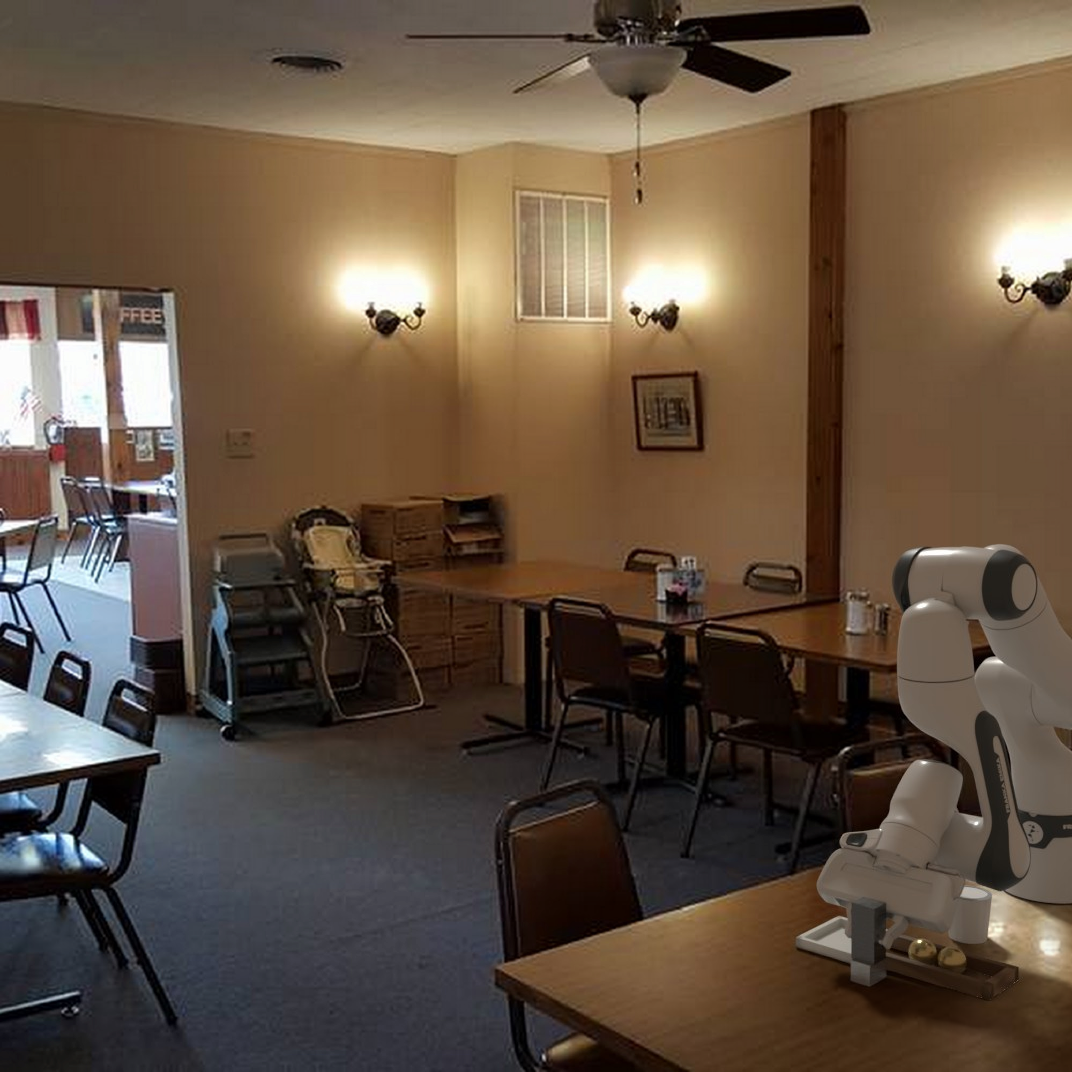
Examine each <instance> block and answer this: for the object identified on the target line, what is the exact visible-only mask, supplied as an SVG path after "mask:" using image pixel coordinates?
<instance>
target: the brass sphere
mask: <svg viewBox="0 0 1072 1072" xmlns="http://www.w3.org/2000/svg"><path fill="white" fill-rule="evenodd" d="M945 947H946V948H944V949H942V950H941V951H940V953H939V955H938V958H937V961H936V962H937V965H938V966H937V967H938V968H942V969H945V970H948V971H952V972H955V973H959V974H962V975H963V973H965V971H966V966H967V960H966V957H965V955H964V953H963V952H964V951H963V950H961V949H959V948H957V947H955V946H945ZM962 951H963V952H962Z"/></svg>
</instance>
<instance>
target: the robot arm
mask: <svg viewBox="0 0 1072 1072" xmlns="http://www.w3.org/2000/svg"><path fill="white" fill-rule="evenodd" d="M891 587H892V591H893V595H894V597H895V600H896V602H897V604H898V606H899V608H900V610H901V612H902V616H901V619H900V624H899V630H898V638H897V639H898V640H897V652H896V659H897V660H896V673H897V676H896V677H897V681H896V682H897V693H898V700H899V704H900V707H901V710H902V712H903V714H904V715H905V716H906V718H907V719H908V720H909V721H910V722H911V723H912V725H913V726H915V727H916V728H917V729H918V730H920V731H922V732H923V733H924V734H927V735H928V736H930V737H932V738H935V739H936V740H938V741H940V742H942V743H943V744H945V745H947V746H948V747H950V748H951V749H952V750H954V751H955V752H957V753H958V754H959V755H960V756H961V757H962V758H963V759H965V760H966V762H967V763H968V764H969V766H970V768H971V770H972V773H973V777H974V781H975V782H974V783H975V787H976V791H977V796H978V802H979V807H980V811H981V815H982V816H977V815H971V814H966V813H961V812H959V810H958V808H957V806H958V803H959V802H958V801H959V798H960V794H961V791H962V787H963V782H964V781H963V779H964V777H963V774H962V773H961V772H960V771H959V770H958V769H957V768H956V767H954V766H952V765H950V764H947V763H945V762H942V761H938V760H934V759H928V758H927V759H926V758H920V759H916V760H914V761H913V762H912V763H911V764H910V766H908V768H907V770H906V771H905V772H904V774H903V776H902V778H901V780H900V781H899V783H898V785H897V787H896V788H895V791H894V793H893V795H892V798H891V800H890V804H889V812H888V814H887V816H886V817H885V818H884V819H883V821H882V822H881V824H880V825H879V828H876V829H875V828H874V829H870V830H864V831H853V832H852V831H851V832H845V833H843V834H842V836H841V837H840V839H839V845H840V847H841V848H838V849H836V850H835V851H834V852H833V853H831V855H830V856H829V857H828V859H827V860H826V863H825V865H824V866H823V868H822V870H821V872H820V874H819V876H818V879H817V882H816V889H817V892H818V894H819V896H820V897H821V898H822V900H823V901H825V903H828V904H831V905H835V906H838V907H842V908H845V911H846V918H847V919H848V924H847V927H846V929H845V935H846V936H847V937H848V938H851V907H852V902H854V901H856V900H858V899H860V898H862V897H866V898H870V899H874V900H877V901H881V902H885V903H886V920H890V921H892V923H893V924H892V925H891V926H890V927H889V928H887V929H888V930H887V931H886V932H884V931H880V932H879V937H877V940H876V943H877V944H878V946H879V947H883V948H885V949H886V950H890V949H892V948H891V945H892V943H893V941H894V939H896V938H897V937H899V936H900V935H901V934H902V935H904V933H905V932H906V931H907V929H908V927H909V926H912V927H916V928H920V929H924V930H927V931H931V932H935V933H939V934H945V933H946V932H947V931H948V930H949V929H950V928H951V926H952V923H953V920H954V916H955V912H956V907H957V902H958V898H959V897H960V896H961V894H962V892H963V889H964V886H965V885H966V882H970V883H975V884H977V885H979V886H982V887H985V888H988V889H990V890H993V891H997V892H1004V891H1005V892H1007V893H1009V894H1010V895H1013V896H1016V897H1018V898H1022V899H1025V900H1029V901H1033V902H1034V901H1035V902H1041V903H1048V904H1050V903H1051V904H1072V750H1071V749H1070V748H1068V747H1067V746H1066V745H1065V744H1064V743H1062V741H1061V740H1060V738H1059V737H1058V735H1057V733H1056V730H1055V728H1059V729H1060V728H1061V729H1064V730H1065V729H1066V730H1070V731H1071V730H1072V639H1071V637H1070V636H1069V635H1068V634H1067V632H1066V631H1065V630H1064V629H1063V627H1062V625H1061V623H1060V622H1059V620H1058V617H1057V616H1056V615H1057V614H1055V613H1056V612H1055V611H1054V609H1053V607H1052V605H1051V602H1050V600H1049V598H1048V595H1047V592H1046V590H1045V589H1044V586H1043V584H1042V582H1041V580H1040V578H1039V577H1038V574H1037V572H1036V569H1035V567H1034V566H1033V565H1032V563H1031V562H1030V560H1029V559H1028V558H1027V557H1026V556H1025V555H1024V554H1023V553H1022V551H1020V550H1019V548H1016V547H1014V546H1012V545H1009V544H1004V543H1003V544H1002V543H997V544H991V545H986V546H984V547H977V546H967V545H966V546H944V547H932V546H921V547H915V548H912V549H909V550H906V551H904V552H903V553H902V554H901V556H900V557H899V558H898V560H897V561H896V563H895V566H894V568H893V571H892V578H891ZM968 620H978V622H979V624H980V627H981V629H982V631H983V633H984V635H985V637H986V639H987V640H986V641H987V642H988V645H989V647H990V648H991V651H992V653H993V654H994V655H995V656H990V657H987V658H985V659H984V660H983V661H982V663H981V664H979V666H978V668H977V669H976V671H975V667H974V666H975V665H974V656H973V655H974V654H973V647H972V641H971V635H970V631H969V624H970V621H968ZM1006 747H1007V748H1006ZM1007 751H1008V752H1007ZM1008 754H1009V758H1010V762H1009V758H1008Z"/></svg>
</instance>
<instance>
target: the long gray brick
mask: <svg viewBox="0 0 1072 1072" xmlns="http://www.w3.org/2000/svg"><path fill="white" fill-rule="evenodd" d="M886 929H887V919H886V903H885V902H881V901H877V900H874V899H870V898H866V897H862V898H860V899H858V900H856V901H854V902H852V907H851V958H853V959H852V960H851V964H850V981H851V982H854V983H856V984H859V985H862V986H866V987H871V986H873V985H875V984H877V983H879V982H880V981H882V980H884V979H885V978H887V970H886V952H887V949H885V948H883V947H879V946H878V944H877V943H876V940H877V937H879V932H880V931H884V932H886Z"/></svg>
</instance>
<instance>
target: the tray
mask: <svg viewBox="0 0 1072 1072" xmlns="http://www.w3.org/2000/svg"><path fill="white" fill-rule="evenodd" d="M847 924H848V919H847V917H844V916H842V915H838V916H836V917H833V918H831V919H829V920H827V921H826V922H824V923H822V924H820V925H817V926H816V927H814V928H811V929H809V930H808V931H806V932H804V933H801V934H800V935H798V936H795V948H798V949H801V950H805V951H808V952H811V953H815V954H818V955H821V956H825V957H828V958H831V959H834V960H838V961H840V962H844V963H847V964H850V965H851V960H852V959H853V958H851V938H848V937H847V936H846V935H845V929H846V927H847ZM888 929H889V928H886V931H887V930H888Z"/></svg>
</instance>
